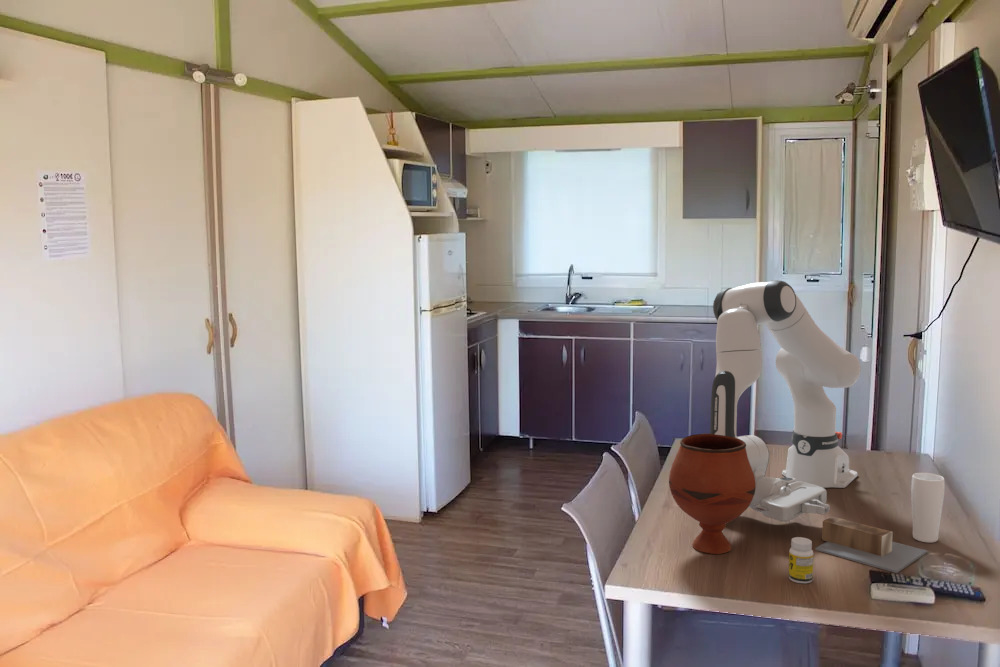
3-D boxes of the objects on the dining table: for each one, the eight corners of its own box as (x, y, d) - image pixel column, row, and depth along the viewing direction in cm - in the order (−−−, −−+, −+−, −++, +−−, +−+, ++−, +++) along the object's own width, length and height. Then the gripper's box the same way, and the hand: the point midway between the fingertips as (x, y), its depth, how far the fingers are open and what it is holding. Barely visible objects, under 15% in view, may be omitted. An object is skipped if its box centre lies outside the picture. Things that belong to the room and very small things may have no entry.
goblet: (679, 527, 206) (680, 427, 202) (760, 538, 197) (763, 435, 194) (659, 555, 188) (659, 446, 185) (747, 569, 180) (749, 455, 177)
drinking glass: (948, 543, 193) (951, 480, 191) (921, 545, 191) (924, 482, 190) (928, 533, 199) (931, 471, 197) (902, 535, 198) (905, 473, 196)
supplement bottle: (788, 573, 178) (789, 535, 176) (811, 575, 176) (813, 537, 175) (788, 582, 173) (790, 543, 172) (813, 585, 172) (814, 545, 171)
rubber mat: (848, 532, 201) (848, 530, 201) (927, 552, 187) (927, 550, 187) (815, 550, 190) (815, 547, 190) (896, 573, 177) (896, 571, 177)
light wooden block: (832, 516, 197) (892, 531, 187) (831, 534, 198) (891, 551, 187) (822, 521, 194) (883, 536, 184) (822, 539, 195) (882, 556, 184)
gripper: (749, 493, 198) (804, 507, 188) (793, 475, 212) (847, 487, 202) (749, 519, 199) (804, 534, 189) (792, 499, 213) (846, 512, 203)
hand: (826, 509), depth 196 cm, fingers closed
